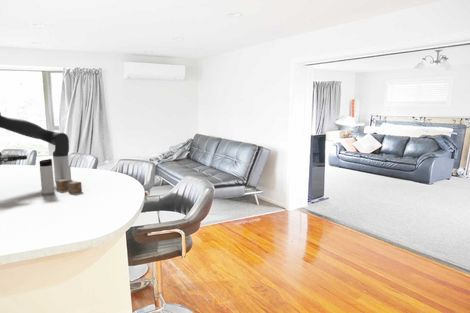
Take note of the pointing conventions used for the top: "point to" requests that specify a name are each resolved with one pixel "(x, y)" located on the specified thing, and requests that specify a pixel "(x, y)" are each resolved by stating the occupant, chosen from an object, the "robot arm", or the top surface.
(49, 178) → the travel mug
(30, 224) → the top surface
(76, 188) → the walnut block one
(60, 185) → the walnut block two
